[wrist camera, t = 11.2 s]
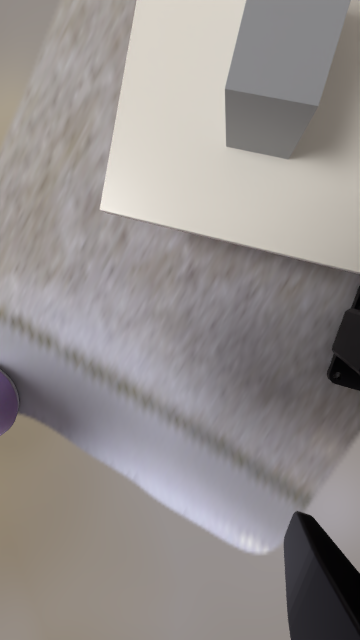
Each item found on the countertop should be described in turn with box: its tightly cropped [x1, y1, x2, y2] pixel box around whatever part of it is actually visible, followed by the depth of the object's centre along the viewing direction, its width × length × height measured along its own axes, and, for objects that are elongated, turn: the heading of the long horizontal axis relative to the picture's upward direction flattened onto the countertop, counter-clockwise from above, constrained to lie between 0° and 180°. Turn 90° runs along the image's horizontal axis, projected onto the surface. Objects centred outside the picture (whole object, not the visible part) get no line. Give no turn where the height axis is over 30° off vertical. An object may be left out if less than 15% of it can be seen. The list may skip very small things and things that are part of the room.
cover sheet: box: [100, 0, 360, 274], centre depth 10 cm, size 12×12×5 cm
